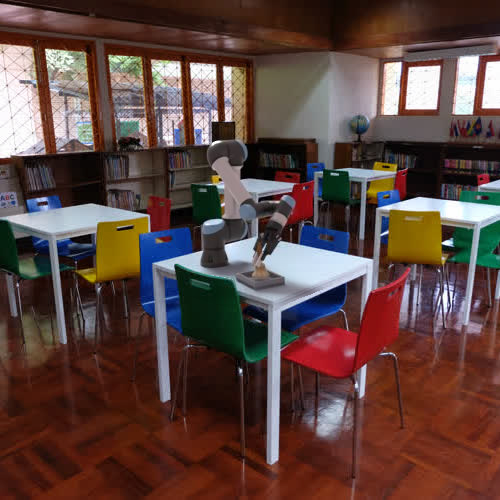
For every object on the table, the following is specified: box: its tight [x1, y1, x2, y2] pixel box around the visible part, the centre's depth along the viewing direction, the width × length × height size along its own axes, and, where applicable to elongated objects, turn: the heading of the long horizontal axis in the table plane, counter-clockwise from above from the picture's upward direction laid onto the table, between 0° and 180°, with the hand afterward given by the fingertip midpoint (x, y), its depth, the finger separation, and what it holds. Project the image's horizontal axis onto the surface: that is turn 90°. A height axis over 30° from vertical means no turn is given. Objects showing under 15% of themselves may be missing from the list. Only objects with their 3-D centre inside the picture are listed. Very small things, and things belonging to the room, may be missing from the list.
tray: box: [235, 268, 286, 291], centre depth 235 cm, size 18×16×4 cm
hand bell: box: [252, 242, 269, 278], centre depth 233 cm, size 8×8×16 cm
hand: (254, 265), depth 230 cm, fingers closed on hand bell, 2 cm apart
